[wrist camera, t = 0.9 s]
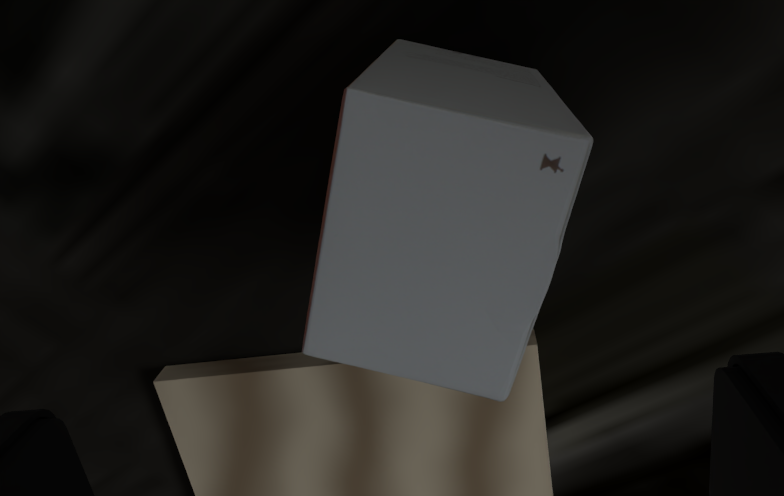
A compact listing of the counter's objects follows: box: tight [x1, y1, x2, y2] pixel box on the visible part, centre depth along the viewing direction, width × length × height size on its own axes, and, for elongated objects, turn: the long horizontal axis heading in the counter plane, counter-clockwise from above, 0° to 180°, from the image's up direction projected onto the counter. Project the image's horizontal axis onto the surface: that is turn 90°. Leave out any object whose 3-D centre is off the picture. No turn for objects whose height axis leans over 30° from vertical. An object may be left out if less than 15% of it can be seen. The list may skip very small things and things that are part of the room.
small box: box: [302, 39, 593, 402], centre depth 23 cm, size 8×6×13 cm
